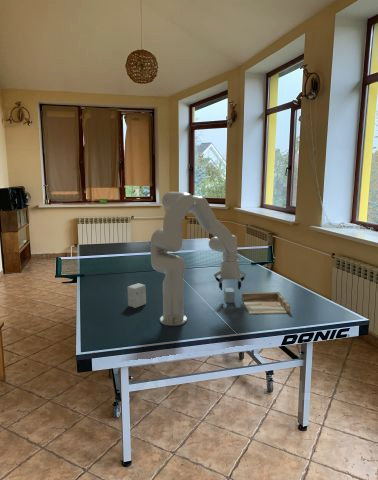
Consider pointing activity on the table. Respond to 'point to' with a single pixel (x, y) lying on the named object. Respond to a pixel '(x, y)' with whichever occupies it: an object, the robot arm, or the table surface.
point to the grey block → (229, 295)
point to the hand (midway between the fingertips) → (230, 289)
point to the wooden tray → (265, 303)
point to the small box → (136, 295)
